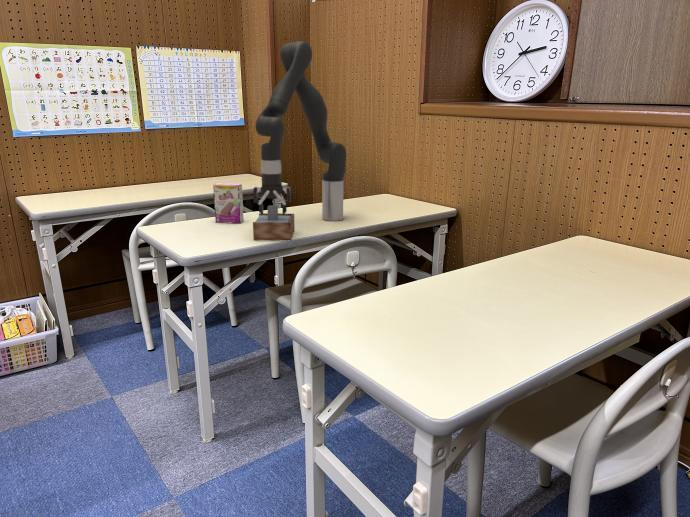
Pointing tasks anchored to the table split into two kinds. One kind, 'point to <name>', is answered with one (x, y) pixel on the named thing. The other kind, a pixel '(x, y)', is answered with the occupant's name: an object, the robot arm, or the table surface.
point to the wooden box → (274, 229)
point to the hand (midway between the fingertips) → (272, 213)
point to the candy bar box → (228, 202)
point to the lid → (272, 216)
